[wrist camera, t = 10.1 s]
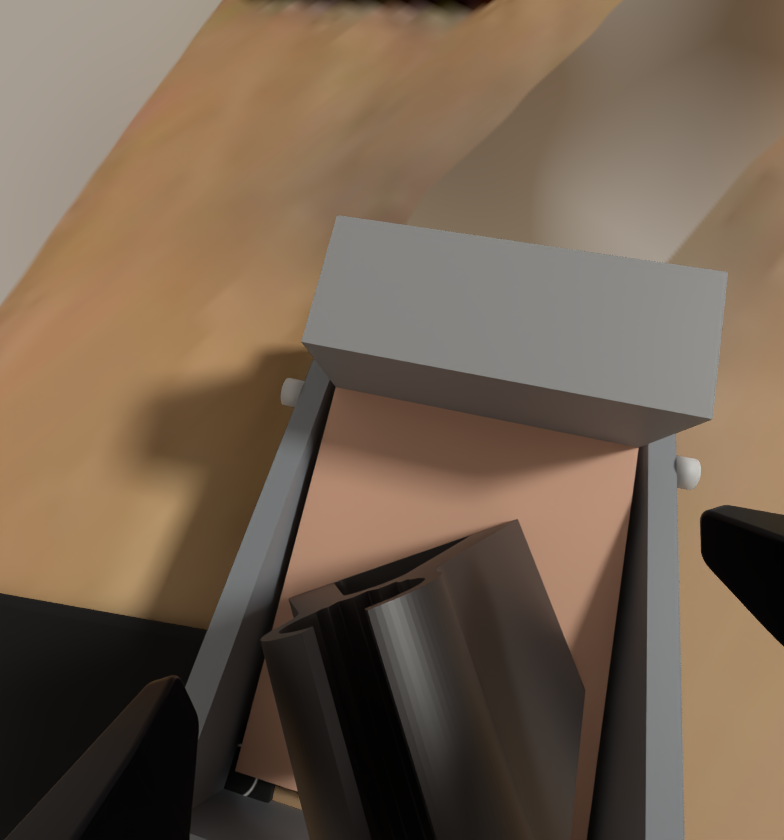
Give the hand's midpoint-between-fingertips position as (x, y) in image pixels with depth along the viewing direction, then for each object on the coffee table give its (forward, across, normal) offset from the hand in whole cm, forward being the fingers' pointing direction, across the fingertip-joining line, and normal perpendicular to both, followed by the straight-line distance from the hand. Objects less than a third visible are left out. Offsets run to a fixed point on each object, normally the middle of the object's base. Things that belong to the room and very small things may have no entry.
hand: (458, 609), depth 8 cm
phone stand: (+8, 0, +8) cm, 11 cm away
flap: (+13, -2, +7) cm, 15 cm away
